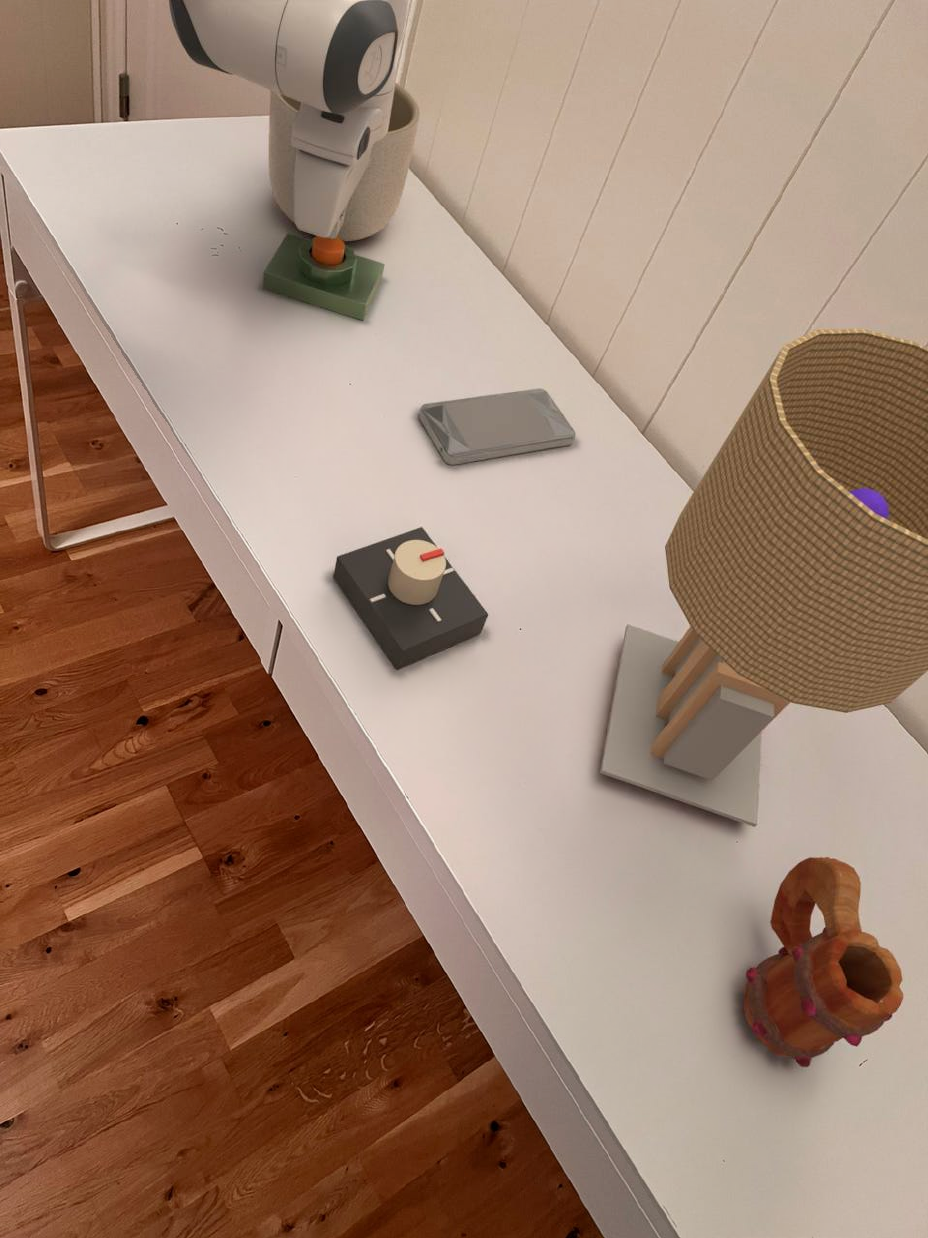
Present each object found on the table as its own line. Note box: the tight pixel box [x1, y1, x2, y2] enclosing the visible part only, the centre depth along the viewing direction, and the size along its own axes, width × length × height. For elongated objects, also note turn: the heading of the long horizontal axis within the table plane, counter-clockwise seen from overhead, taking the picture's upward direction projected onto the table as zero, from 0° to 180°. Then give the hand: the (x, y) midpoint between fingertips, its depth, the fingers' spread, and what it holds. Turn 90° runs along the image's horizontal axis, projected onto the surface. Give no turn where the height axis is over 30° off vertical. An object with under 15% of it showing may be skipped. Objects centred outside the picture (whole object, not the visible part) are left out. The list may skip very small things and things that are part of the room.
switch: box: [312, 236, 346, 265], centre depth 103 cm, size 4×4×2 cm
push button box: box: [262, 232, 385, 321], centre depth 105 cm, size 12×9×4 cm
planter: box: [268, 82, 420, 242], centre depth 109 cm, size 17×17×15 cm
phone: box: [418, 388, 576, 466], centre depth 97 cm, size 8×16×1 cm, turn 116°
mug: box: [742, 856, 904, 1068], centre depth 63 cm, size 12×7×13 cm, turn 179°
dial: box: [388, 540, 446, 605], centre depth 77 cm, size 4×4×4 cm
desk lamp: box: [599, 328, 928, 828], centre depth 66 cm, size 20×20×35 cm
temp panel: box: [332, 526, 489, 671], centre depth 80 cm, size 11×9×3 cm
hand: (331, 231), depth 101 cm, fingers closed
